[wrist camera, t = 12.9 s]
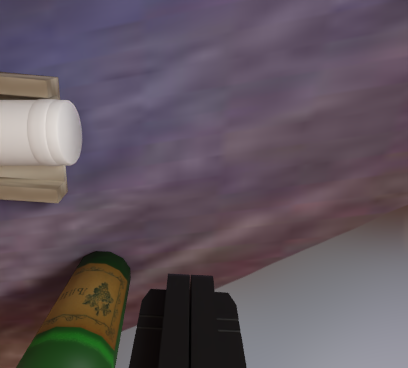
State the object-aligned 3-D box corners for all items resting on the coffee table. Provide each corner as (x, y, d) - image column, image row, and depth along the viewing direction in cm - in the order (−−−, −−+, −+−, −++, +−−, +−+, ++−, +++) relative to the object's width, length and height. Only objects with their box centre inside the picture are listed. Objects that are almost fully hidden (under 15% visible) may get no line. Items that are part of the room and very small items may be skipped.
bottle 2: (127, 238, 51) (62, 438, 25) (145, 290, 55) (104, 505, 30) (62, 250, 52) (-67, 457, 26) (84, 300, 56) (-7, 521, 30)
